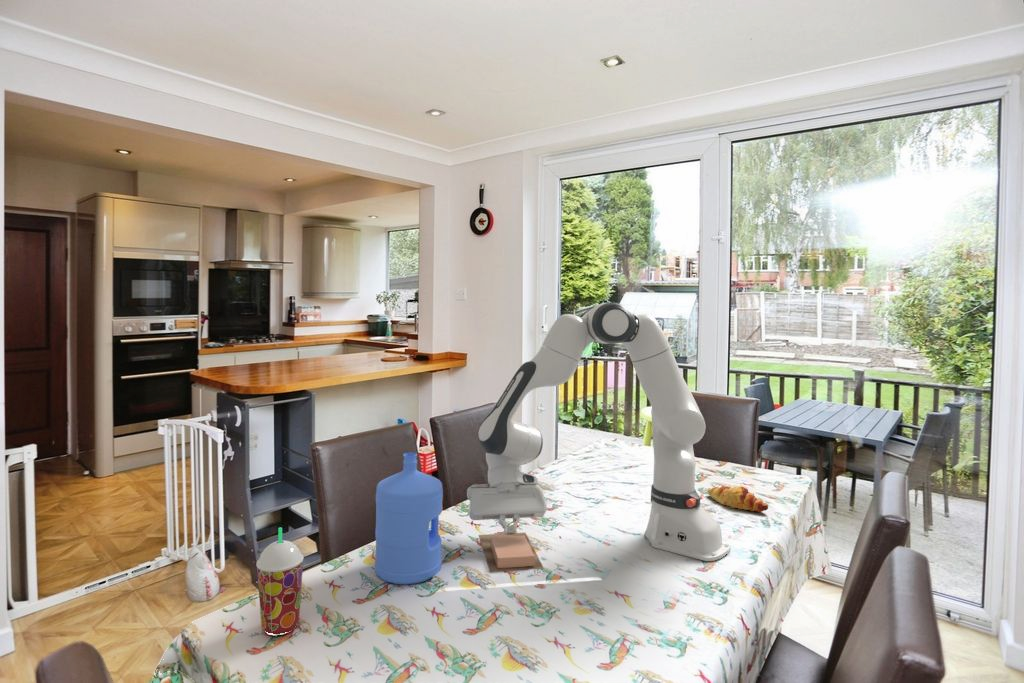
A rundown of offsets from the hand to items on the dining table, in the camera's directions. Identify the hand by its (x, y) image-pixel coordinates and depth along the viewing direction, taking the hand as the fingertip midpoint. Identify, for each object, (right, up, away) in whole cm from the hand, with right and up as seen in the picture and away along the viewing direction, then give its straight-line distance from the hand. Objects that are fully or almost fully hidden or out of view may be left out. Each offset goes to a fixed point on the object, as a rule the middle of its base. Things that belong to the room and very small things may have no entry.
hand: (510, 533), depth 141 cm
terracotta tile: (-1, -3, +4) cm, 6 cm away
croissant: (+74, -5, +42) cm, 85 cm away
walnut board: (0, -6, +2) cm, 6 cm away
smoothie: (-45, -7, -33) cm, 56 cm away
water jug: (-24, -6, -8) cm, 26 cm away
